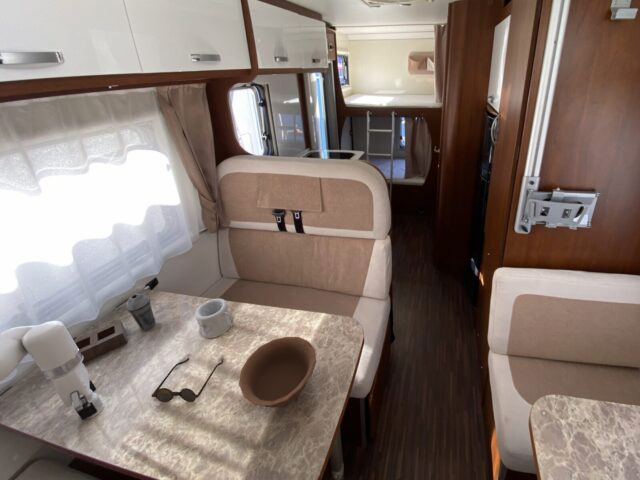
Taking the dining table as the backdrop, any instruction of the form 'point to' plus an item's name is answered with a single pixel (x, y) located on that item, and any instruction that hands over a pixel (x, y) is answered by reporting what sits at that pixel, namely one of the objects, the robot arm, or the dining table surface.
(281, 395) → the bowl
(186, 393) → the eyeglasses
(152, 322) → the beverage cup
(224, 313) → the mug
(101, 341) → the holder
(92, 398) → the pill bottle
